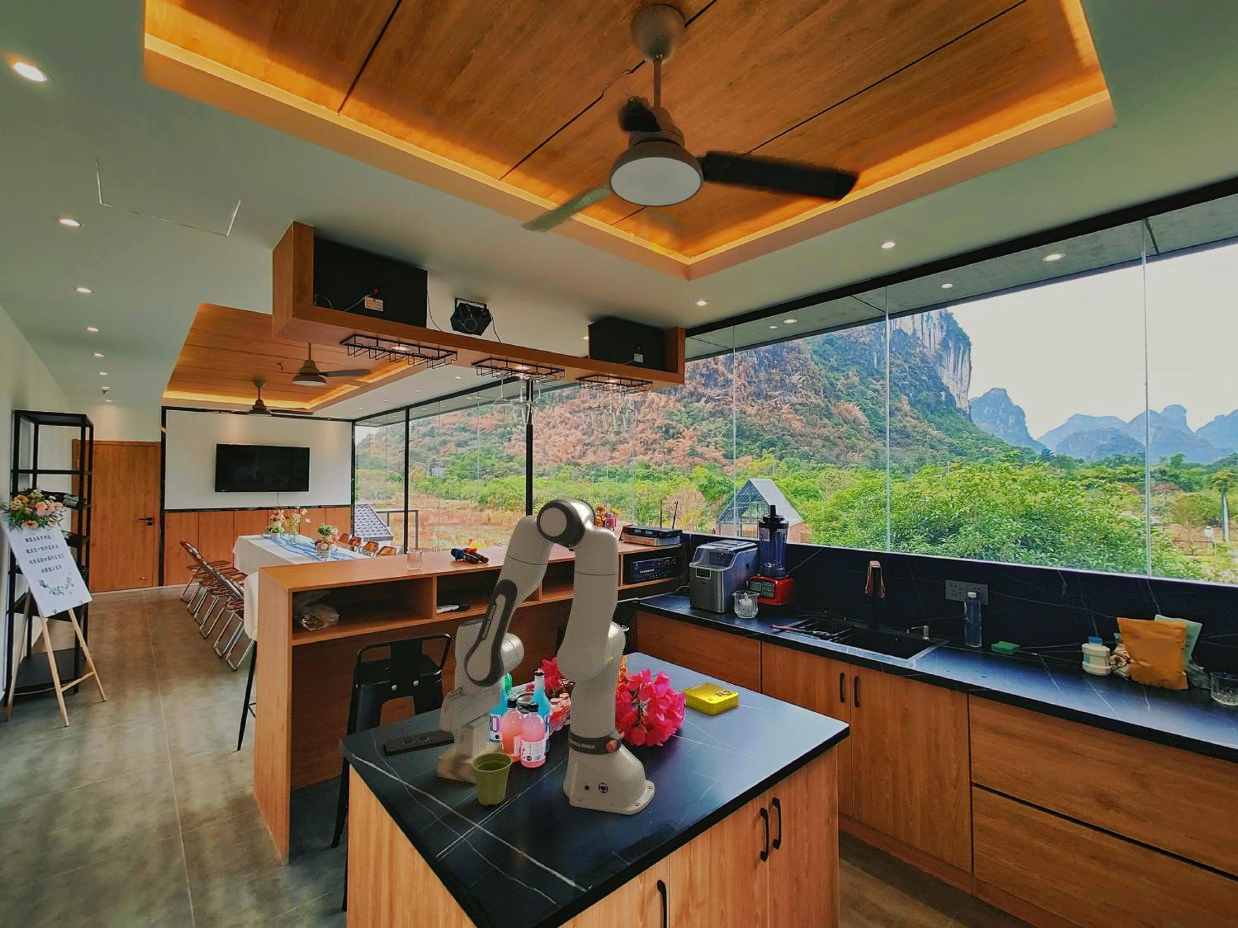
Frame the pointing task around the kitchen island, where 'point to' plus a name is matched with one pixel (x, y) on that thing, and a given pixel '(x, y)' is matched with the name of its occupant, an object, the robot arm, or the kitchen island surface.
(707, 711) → the element tile
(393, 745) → the smart home device
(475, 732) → the cream tea tin
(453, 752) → the oak block
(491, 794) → the plant pot
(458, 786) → the kitchen island surface
